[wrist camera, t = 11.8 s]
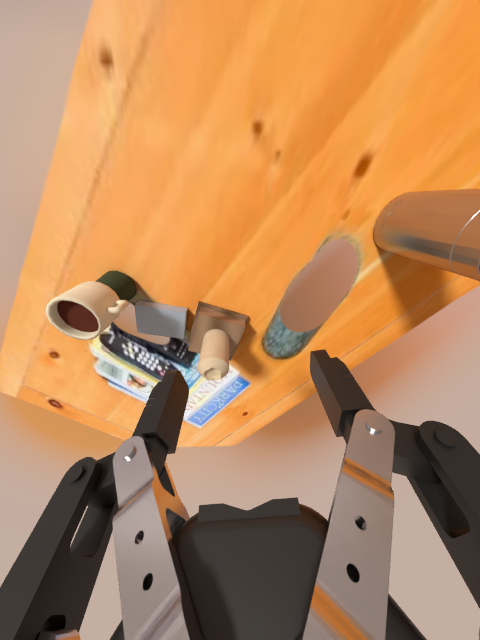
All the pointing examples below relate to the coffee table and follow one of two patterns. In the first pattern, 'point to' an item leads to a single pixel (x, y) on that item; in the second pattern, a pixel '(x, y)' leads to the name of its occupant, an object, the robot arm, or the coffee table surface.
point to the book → (161, 319)
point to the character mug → (91, 305)
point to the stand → (216, 326)
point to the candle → (214, 355)
